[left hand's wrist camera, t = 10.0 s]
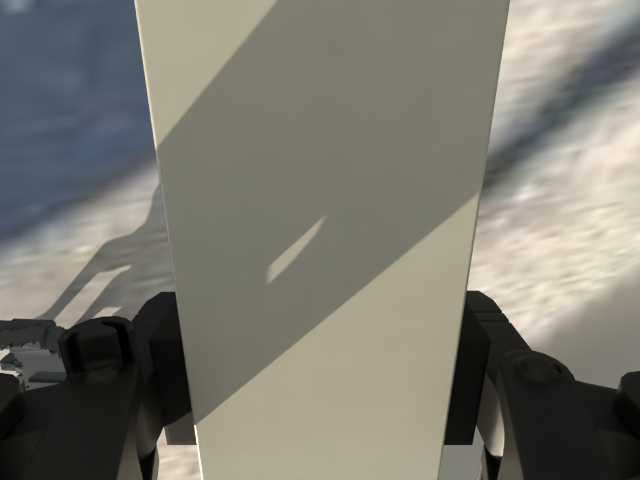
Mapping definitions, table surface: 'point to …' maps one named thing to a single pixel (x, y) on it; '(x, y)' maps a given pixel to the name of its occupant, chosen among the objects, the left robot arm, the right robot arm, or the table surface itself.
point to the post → (321, 221)
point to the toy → (32, 352)
